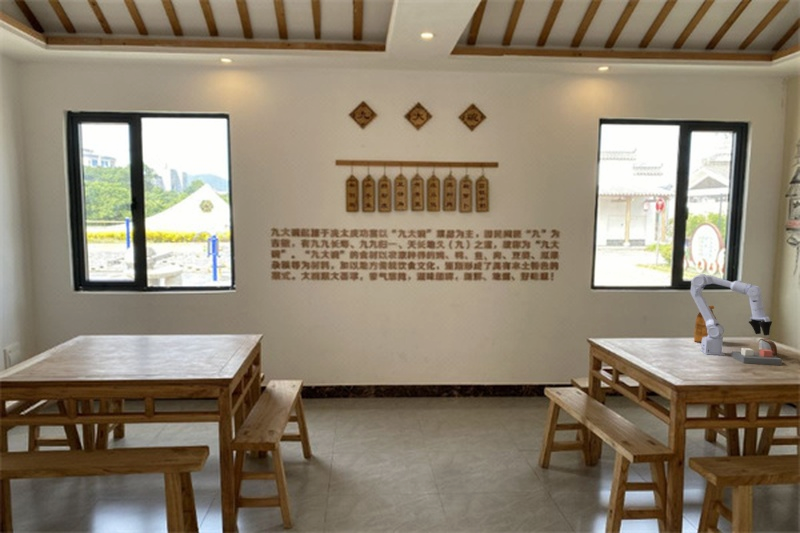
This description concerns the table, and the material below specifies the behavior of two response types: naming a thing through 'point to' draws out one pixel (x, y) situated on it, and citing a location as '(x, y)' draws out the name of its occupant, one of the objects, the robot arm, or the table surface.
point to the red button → (765, 352)
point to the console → (757, 359)
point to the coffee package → (701, 327)
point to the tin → (768, 345)
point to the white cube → (747, 351)
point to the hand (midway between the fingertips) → (762, 334)
